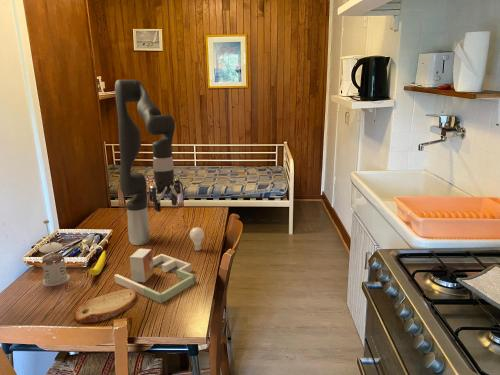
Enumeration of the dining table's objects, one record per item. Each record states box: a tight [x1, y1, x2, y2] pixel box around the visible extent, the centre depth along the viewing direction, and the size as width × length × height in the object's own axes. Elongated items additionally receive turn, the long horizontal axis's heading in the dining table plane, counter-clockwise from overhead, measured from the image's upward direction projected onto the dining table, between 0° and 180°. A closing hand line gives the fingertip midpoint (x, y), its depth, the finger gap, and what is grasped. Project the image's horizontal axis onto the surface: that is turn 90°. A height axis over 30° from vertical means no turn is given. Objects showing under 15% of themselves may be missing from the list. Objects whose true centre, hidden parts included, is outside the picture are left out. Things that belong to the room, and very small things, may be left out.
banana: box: [87, 250, 107, 276], centre depth 155 cm, size 3×19×6 cm, turn 3°
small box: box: [129, 248, 155, 283], centre depth 149 cm, size 8×6×10 cm
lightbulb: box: [189, 226, 205, 252], centre depth 172 cm, size 6×6×11 cm
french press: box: [38, 219, 71, 287], centre depth 148 cm, size 10×12×25 cm
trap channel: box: [113, 253, 197, 304], centre depth 149 cm, size 26×23×3 cm
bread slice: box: [73, 288, 138, 325], centre depth 131 cm, size 18×18×4 cm
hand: (166, 208), depth 151 cm, fingers open, 8 cm apart
